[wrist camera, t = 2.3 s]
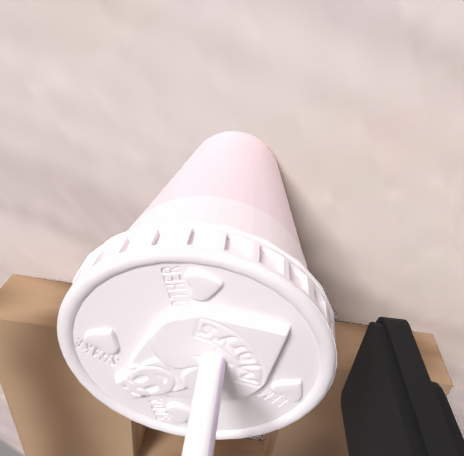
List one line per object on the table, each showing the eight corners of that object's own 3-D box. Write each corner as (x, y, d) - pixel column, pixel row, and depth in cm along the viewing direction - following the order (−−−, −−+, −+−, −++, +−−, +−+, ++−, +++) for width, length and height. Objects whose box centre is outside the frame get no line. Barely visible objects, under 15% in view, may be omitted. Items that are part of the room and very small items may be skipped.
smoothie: (338, 199, 17) (453, 688, 6) (213, 257, 20) (116, 686, 8) (262, 62, 15) (190, 458, 3) (127, 147, 17) (-200, 555, 5)
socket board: (432, 334, 21) (453, 385, 19) (351, 485, 30) (358, 533, 27) (12, 274, 22) (-23, 315, 19) (54, 439, 31) (34, 482, 28)
